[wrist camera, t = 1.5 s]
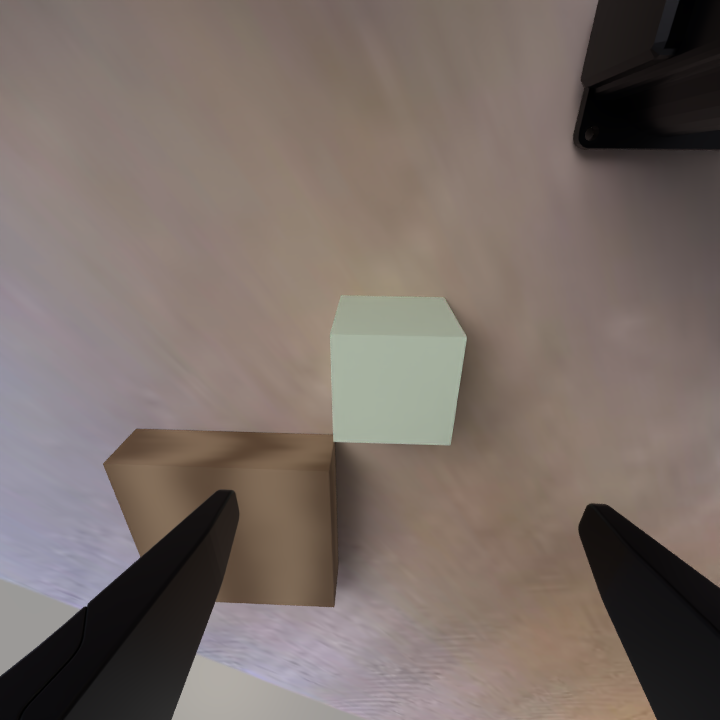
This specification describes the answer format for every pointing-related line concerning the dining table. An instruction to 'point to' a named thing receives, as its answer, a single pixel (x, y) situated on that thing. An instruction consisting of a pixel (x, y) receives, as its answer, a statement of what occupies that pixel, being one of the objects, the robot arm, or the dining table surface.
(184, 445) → the walnut plinth
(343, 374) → the sage block
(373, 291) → the dining table surface
